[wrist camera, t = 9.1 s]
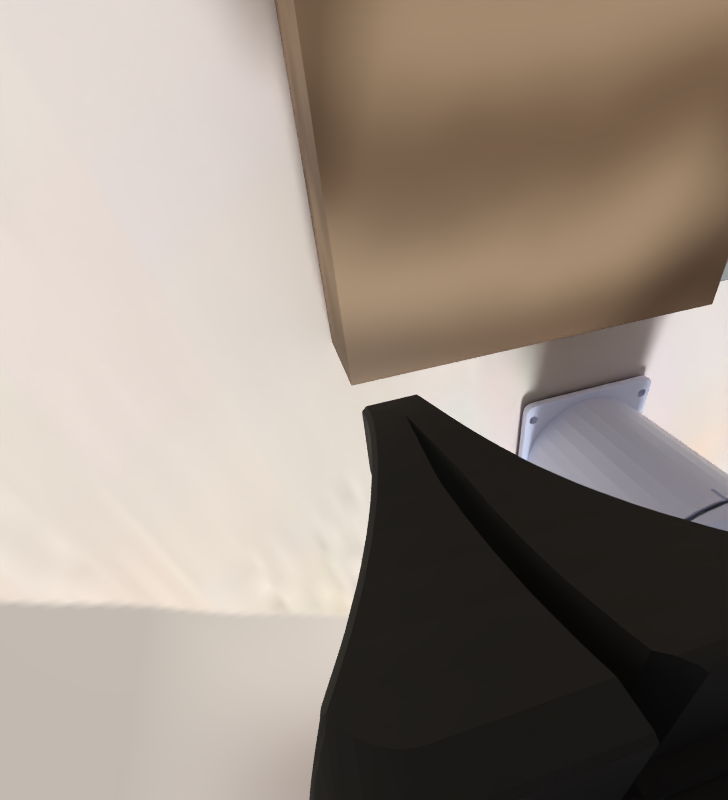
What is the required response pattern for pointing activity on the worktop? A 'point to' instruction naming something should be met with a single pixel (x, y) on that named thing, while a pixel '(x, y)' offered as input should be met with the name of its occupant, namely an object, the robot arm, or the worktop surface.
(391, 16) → the brown flat block
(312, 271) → the worktop surface
